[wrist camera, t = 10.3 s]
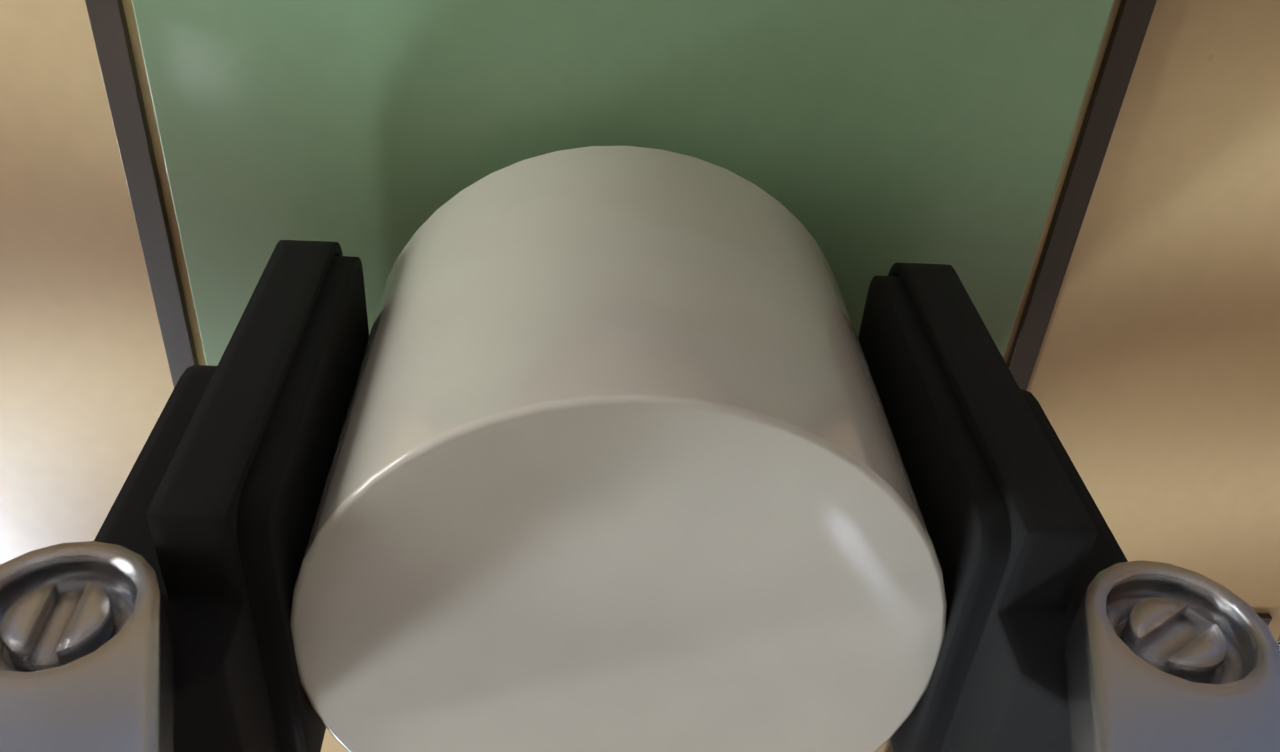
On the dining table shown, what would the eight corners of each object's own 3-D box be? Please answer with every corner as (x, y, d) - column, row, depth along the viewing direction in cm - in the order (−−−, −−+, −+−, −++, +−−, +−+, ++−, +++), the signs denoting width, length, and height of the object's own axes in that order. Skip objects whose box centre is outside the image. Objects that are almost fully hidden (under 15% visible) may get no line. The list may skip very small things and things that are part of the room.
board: (-858, -987, 7) (-1091, -1081, 6) (1954, -694, 8) (2134, -732, 7) (-37, 733, 18) (-74, 800, 17) (1162, 741, 19) (1193, 804, 18)
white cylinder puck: (354, 131, 10) (240, 387, 7) (888, 154, 10) (1026, 408, 7) (391, 530, 13) (324, 843, 10) (808, 539, 13) (880, 843, 10)
